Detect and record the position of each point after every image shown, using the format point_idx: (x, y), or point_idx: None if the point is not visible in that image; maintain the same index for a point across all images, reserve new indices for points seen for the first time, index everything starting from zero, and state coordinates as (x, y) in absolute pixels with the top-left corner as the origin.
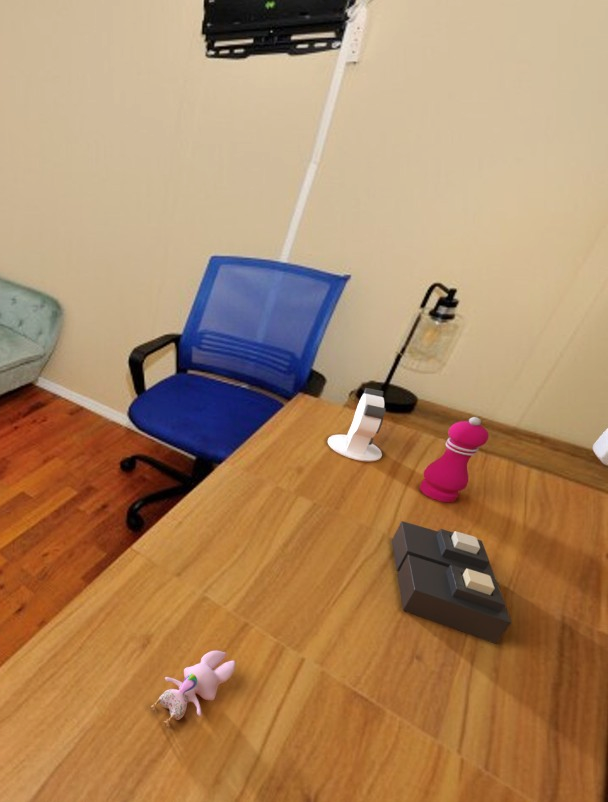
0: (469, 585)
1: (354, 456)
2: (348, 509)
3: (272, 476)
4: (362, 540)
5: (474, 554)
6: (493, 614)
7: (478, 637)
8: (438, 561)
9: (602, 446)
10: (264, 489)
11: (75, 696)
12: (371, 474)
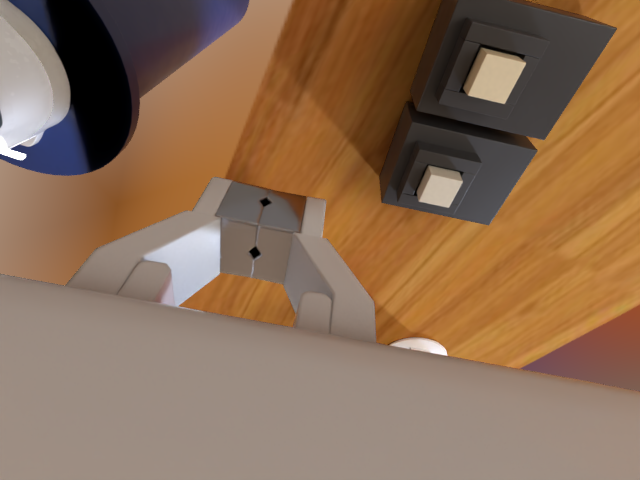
0: (519, 58)
1: (425, 343)
2: (504, 247)
3: (587, 289)
4: (530, 185)
5: (435, 162)
6: (486, 3)
7: None
8: (491, 139)
9: None
10: (627, 261)
11: None
12: (419, 317)
